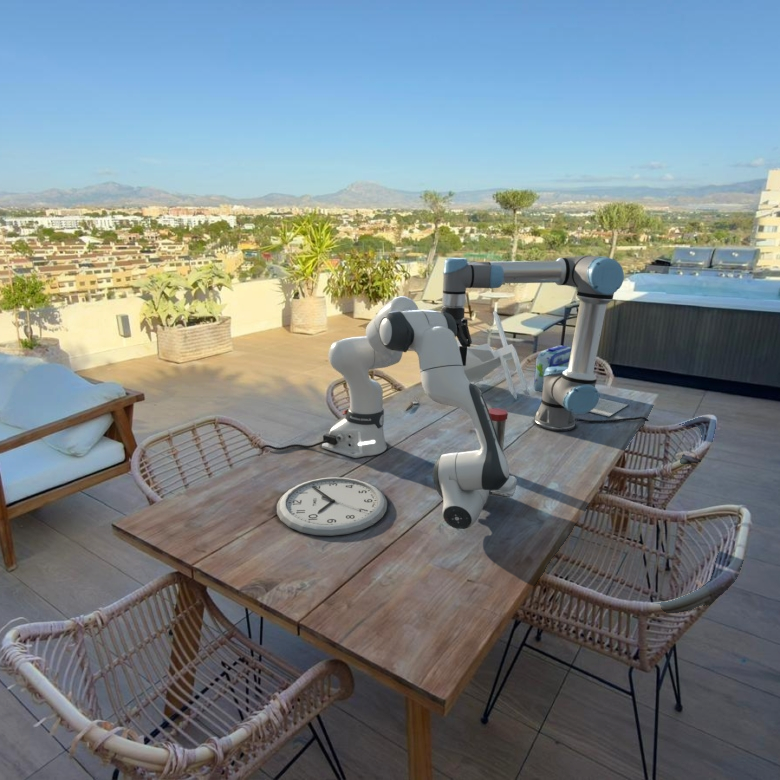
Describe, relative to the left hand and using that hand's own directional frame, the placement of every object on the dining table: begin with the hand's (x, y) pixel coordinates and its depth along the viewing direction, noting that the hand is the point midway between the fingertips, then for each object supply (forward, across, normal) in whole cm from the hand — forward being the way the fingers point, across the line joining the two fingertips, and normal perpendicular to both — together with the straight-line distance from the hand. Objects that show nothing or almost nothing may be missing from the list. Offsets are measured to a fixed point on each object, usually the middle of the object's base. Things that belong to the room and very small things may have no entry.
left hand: (484, 468), depth 151 cm
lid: (+13, 0, -13) cm, 18 cm away
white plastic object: (+92, +23, +7) cm, 95 cm away
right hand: (+30, +20, -20) cm, 41 cm away
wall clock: (-27, +36, +7) cm, 45 cm away
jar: (+13, 0, +7) cm, 14 cm away
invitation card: (+95, -30, +7) cm, 100 cm away
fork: (+60, +44, +7) cm, 75 cm away
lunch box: (+111, -9, +7) cm, 111 cm away
